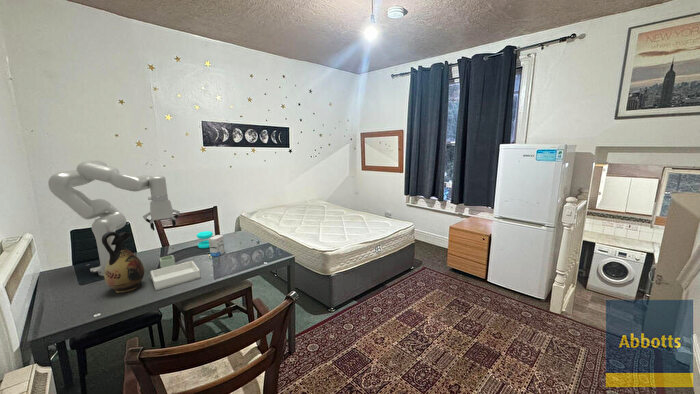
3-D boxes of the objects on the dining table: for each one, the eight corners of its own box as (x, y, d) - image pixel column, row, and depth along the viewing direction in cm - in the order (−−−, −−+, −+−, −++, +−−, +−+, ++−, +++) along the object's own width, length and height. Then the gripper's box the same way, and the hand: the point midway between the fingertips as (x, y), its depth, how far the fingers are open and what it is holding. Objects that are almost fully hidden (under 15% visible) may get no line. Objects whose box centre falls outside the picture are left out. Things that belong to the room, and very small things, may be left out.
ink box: (216, 256, 177) (215, 239, 175) (209, 256, 178) (208, 238, 176) (225, 251, 185) (223, 235, 183) (218, 251, 186) (217, 234, 184)
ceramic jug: (133, 278, 149) (125, 224, 143) (153, 283, 143) (145, 227, 137) (95, 294, 133) (84, 234, 127) (115, 301, 127) (105, 238, 122)
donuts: (193, 235, 188) (200, 230, 198) (195, 249, 190) (201, 244, 200) (208, 234, 189) (215, 230, 199) (210, 248, 191) (216, 243, 201)
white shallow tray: (155, 290, 136) (154, 282, 136) (151, 278, 148) (150, 271, 147) (200, 278, 149) (199, 270, 149) (193, 268, 161) (192, 260, 160)
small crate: (162, 271, 157) (160, 261, 156) (160, 267, 162) (159, 257, 161) (175, 268, 161) (174, 258, 160) (173, 264, 166) (172, 254, 165)
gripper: (140, 201, 146) (145, 232, 149) (179, 197, 156) (182, 226, 160) (139, 199, 151) (144, 229, 154) (176, 195, 162) (180, 223, 165)
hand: (163, 228), depth 157 cm, fingers open, 9 cm apart
